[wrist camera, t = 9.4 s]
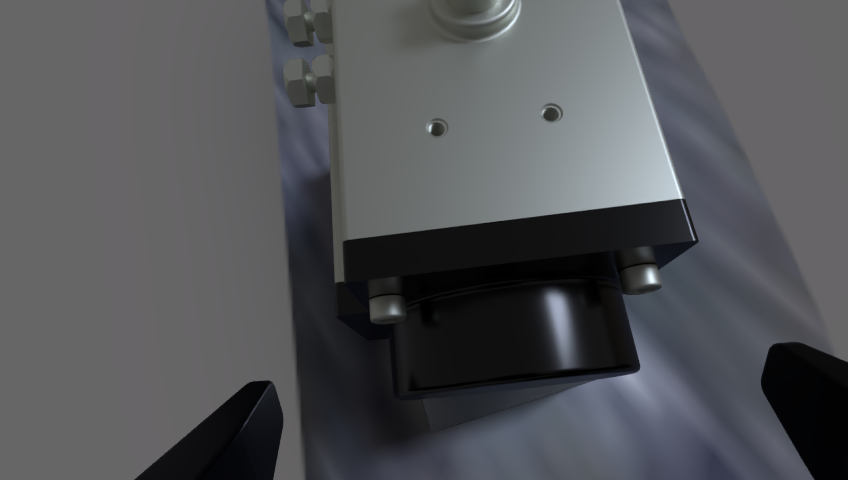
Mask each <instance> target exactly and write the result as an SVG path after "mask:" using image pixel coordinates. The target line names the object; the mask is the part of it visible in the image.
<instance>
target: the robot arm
mask: <svg viewBox="0 0 848 480" xmlns="http://www.w3.org/2000/svg"><path fill="white" fill-rule="evenodd" d="M761 386H762V390H763V393H764V395H765V396H766V398H767V400H768V402H769V403H770V405H771V407H772V409H773V410H774V412H775V414H776V415H777V417H778V419H779V421H780V422H781V424H782V426H783V428H784V429H785V431H786V433H787V434H788V436H789V438H790V440H791V441H792V443H793V445H794V447H795V448H796V450H797V452H798V453H799V455H800V457H801V459H802V460H803V462H804V464H805V465H806V467H807V468H808V470H809V472H810V473H811V475H812V476H813V478H814V479H815V480H848V362H846V361H843V360H841V359H839V358H836V357H834V356H831V355H829V354H827V353H824V352H822V351H820V350H817V349H815V348H812V347H810V346H808V345H805V344H803V343H799V342H788V343H777V344H774V345H772V346H771V347H770V349H769V351H768V355H767V358H766V362H765V366H764V369H763V373H762V377H761ZM282 429H283V412H282V409H281V406H280V402H279V399H278V395H277V392H276V389H275V386H274V384H273V383H272V382H271V381H268V380H267V381H254V382H250V383H248V384H247V385H245V386H244V387H243V388H241V389H240V390H239V391H238V392H237V393H236V394H234V395H233V396H232V397H231V398H230V399H229V400H227V401H226V402H225V403H224V404H223V405H221V406H220V407H219V408H218V409H217V410H216V411H214V412H213V413H212V414H211V415H210V416H209V417H207V418H206V419H205V420H204V421H203V422H201V423H200V424H199V425H198V426H197V427H196V428H194V429H193V430H192V431H191V432H190V433H189V434H187V435H186V436H185V437H184V438H183V439H182V440H180V441H179V442H178V443H177V444H176V445H174V446H173V447H172V448H171V449H170V450H169V451H168V452H166V453H165V454H164V455H163V456H162V457H160V458H159V459H158V460H157V461H156V462H155V463H153V464H152V465H151V466H150V467H149V468H147V469H146V470H145V471H144V472H143V473H142V474H140V475H139V476H138V477H137V478H136V479H135V480H273V477H274V472H275V466H276V460H277V456H278V450H279V445H280V439H281V434H282Z"/></svg>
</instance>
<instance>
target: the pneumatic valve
mask: <svg viewBox="0 0 848 480" xmlns="http://www.w3.org/2000/svg"><path fill="white" fill-rule="evenodd" d="M310 6H311V11H308V7H307V4H306V3H305V1H304V0H287V1H286V2H285V3H284V7H283V10H284V19H285V24H286V28H287V32H288V35H289V37H290V40H291V42H292V44H293V45H294V46H296V47H309V46H314V44H313V32H314V31H315V32H316V35H317V38H318V40H319V42H321V43H324V44H325V50H326V55H321V56H317V57H315V58H314V59H313V61H312V72H311V71H310V68H309V64H308V63H307V62H306V61H305V60H304V59H302V58H299V59H292V60H288V61H287V62H286V63H285V64H284V81H285V87H286V91H287V94H288V97H289V99H290V102H291V104H292V105H293V106H294V107H297V108H305V107H312V106H315V93H316V92H317V95H318V98H319V100H320V102H321V103H322V104H328V126H329V151H330V176H331V201H332V226H333V251H334V276H335V301H336V318H338V319H339V320H341V321H342V322H343V323H345V324H346V325H348V326H349V327H350V328H352V329H353V330H354V331H356V332H357V333H359V334H360V335H361V336H363V337H364V338H365V339H367V340H378V339H386V338H389V341H390V354H391V367H392V379H393V392H394V397H395V398H396V399H398V400H417V399H430V398H442V397H453V396H463V395H473V394H482V393H491V392H501V391H509V390H518V389H527V388H535V387H543V386H552V385H559V384H567V383H575V382H582V381H590V380H597V379H604V378H610V377H617V376H623V375H628V374H633V373H636V372H638V371H639V370H640V363H639V359H638V355H637V351H636V347H635V343H634V339H633V335H632V331H631V328H630V324H629V320H628V316H627V312H626V308H625V304H624V300H623V296H622V295H623V294H626V295H639V294H645V293H649V292H653V291H656V290H658V289H660V288H661V287H662V282H661V278H660V275H659V271H658V270H659V269H661V268H662V267H663V266H665V265H666V264H668V263H669V262H671V261H672V260H674V259H675V258H676V257H678V256H679V255H681V254H682V253H684V252H685V251H686V250H688V249H689V248H691V247H692V246H694V245H695V244H697V243H698V242H699V240H698V237H697V234H696V231H695V228H694V225H693V222H692V219H691V216H690V213H689V210H688V207H687V204H686V200H685V197H684V194H683V191H682V188H681V185H680V182H679V179H678V176H677V173H676V170H675V167H674V164H673V161H672V158H671V155H670V151H669V148H668V145H667V142H666V139H665V136H664V133H663V130H662V127H661V124H660V121H659V118H658V115H657V112H656V109H655V105H654V102H653V99H652V96H651V93H650V90H649V87H648V84H647V81H646V78H645V75H644V72H643V69H642V66H641V63H640V60H639V56H638V53H637V50H636V47H635V44H634V41H633V38H632V35H631V32H630V29H629V26H628V23H627V20H626V17H625V14H624V10H623V7H622V4H621V1H620V0H311V1H310Z"/></svg>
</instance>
